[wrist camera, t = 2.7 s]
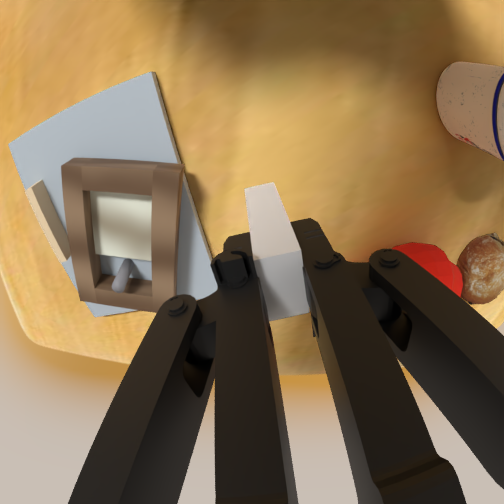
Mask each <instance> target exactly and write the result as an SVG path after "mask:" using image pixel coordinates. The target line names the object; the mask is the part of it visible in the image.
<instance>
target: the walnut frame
mask: <svg viewBox="0 0 504 504" xmlns="http://www.w3.org/2000/svg"><path fill="white" fill-rule="evenodd" d="M183 174H184V164H177V163H166V162H154V161H140V160H125V159H105V158H72V159H71V160H69V161H68V162H66V163H65V164H63V165H61V177H62V191H63V202H64V211H65V220H66V227H67V234H68V241H69V247H70V253H71V259H72V264H73V269H74V274H75V279H76V284H77V288H78V293H79V297H80V301H85V302H90V303H96V304H102V305H108V306H114V307H121V308H127V309H134V310H141V311H148V312H155V313H157V312H158V310H159V308H160V307H161V306H162V304H163V303H164V302H165V301H167V300H168V299H169V298H172V297H174V296H176V295H177V265H178V243H179V225H180V210H181V197H182V185H183ZM100 255H108V256H116V257H123V258H131V259H140V260H148V261H151V265H152V280H144V279H137V278H129V279H128V281H127V284H126V286H125V289H124V291H123V292H122V293H117V292H115V291H114V290H113V289H112V284H113V281H114V279H115V277H116V276H114V275H107V274H102V270H101V262H100Z"/></svg>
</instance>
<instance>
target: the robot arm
mask: <svg viewBox="0 0 504 504" xmlns="http://www.w3.org/2000/svg"><path fill="white" fill-rule="evenodd" d="M245 197H246V205H247V213H248V221H249V229H250V232H247V233H243V234H238V235H234V236H229V237H228V238H227V240H226V241H225V243H224V249H223V251H224V252H222V253H220V254H218V255H217V256H216V257H215V258H214V259H213V260H212V261H211V264H210V266H211V269H212V272H213V274H214V277H215V280H216V283H217V290H216V291H215V292H214V293H212V294H211V295H209V296H207V297H205V298H202V299H200V300H198V301H196V299H195V297H193V296H191V295H188V294H181V295H176V296H174V297H172V298H169V299H168V300H167V301H165V302H164V303H163V304H162V306H161V307H160V308H159V310H158V312H157V314H156V316H155V318H154V319H153V321H152V323H151V325H150V327H149V329H148V331H147V333H146V335H145V337H144V338H143V340H142V342H141V344H140V346H139V348H138V350H137V352H136V354H135V356H134V358H133V360H132V362H131V364H130V366H129V368H128V370H127V372H126V374H125V376H124V378H123V380H122V382H121V384H120V386H119V388H118V390H117V392H116V394H115V397H114V398H113V401H112V403H111V405H110V407H109V409H108V411H107V413H106V416H105V418H104V420H103V422H102V424H101V427H100V429H99V431H98V433H97V435H96V437H95V440H94V442H93V445H92V446H91V449H90V451H89V453H88V456H87V458H86V460H85V463H84V465H83V468H82V470H81V472H80V475H79V477H78V480H77V482H76V484H75V487H74V489H73V492H72V495H71V497H70V500H69V502H68V504H177V503H178V499H179V496H180V493H181V490H182V486H183V483H184V480H185V476H186V473H187V469H188V466H189V463H190V459H191V456H192V453H193V449H194V446H195V442H196V439H197V436H198V432H199V429H200V426H201V422H202V419H203V416H204V412H205V409H206V405H207V402H208V399H209V395H210V392H211V389H212V385H213V381H214V379H215V491H216V502H215V503H216V504H298V498H297V491H296V485H295V478H294V471H293V464H292V458H291V451H290V445H289V438H288V432H287V426H286V419H285V413H284V406H283V400H282V393H281V387H280V381H279V374H278V368H277V362H276V355H275V349H274V343H273V337H272V331H271V327H270V323H269V321H273V320H278V319H283V318H287V317H292V316H296V315H301V314H305V313H310V312H311V319H312V328H313V337H315V336H316V338H317V342H318V345H319V349H320V352H321V356H322V359H323V363H324V366H325V370H326V374H327V377H328V381H329V384H330V388H331V392H332V395H333V399H334V403H335V407H336V410H337V414H338V418H339V422H340V426H341V430H342V434H343V437H344V442H345V446H346V450H347V454H348V458H349V462H350V466H351V470H352V475H353V479H354V483H355V487H356V492H357V497H358V504H466V501H465V497H464V495H463V491H462V488H461V485H460V482H459V479H458V476H457V474H456V472H455V470H454V468H453V466H452V465H451V464H450V463H449V461H448V460H446V459H444V458H442V457H440V456H439V455H438V454H437V452H436V450H435V448H434V446H433V443H432V440H431V437H430V435H429V432H428V430H427V427H426V425H425V422H424V420H423V417H422V415H421V412H420V410H419V408H418V406H417V403H416V401H415V398H414V396H413V394H412V391H411V389H410V387H409V385H408V382H407V380H406V378H405V376H404V373H403V371H402V369H401V367H400V365H399V363H398V360H399V361H400V362H401V363H402V364H403V366H404V367H405V368H406V369H407V370H408V372H409V373H410V374H411V375H412V376H413V378H414V379H415V380H416V381H417V382H418V384H419V385H420V386H421V387H422V388H423V390H424V391H425V392H426V393H427V394H428V396H429V397H430V398H431V400H432V401H433V402H434V403H435V405H436V406H437V407H438V408H439V410H440V411H441V412H442V413H443V415H444V416H445V417H446V418H447V420H448V421H449V422H450V423H451V425H452V426H453V427H454V428H455V430H456V431H457V432H458V433H459V435H460V436H461V438H462V439H463V440H464V441H465V443H466V444H467V445H468V447H469V448H470V449H471V451H472V452H473V453H474V455H475V456H476V457H477V458H478V460H479V461H480V463H481V464H482V465H483V467H484V468H485V469H486V471H487V472H488V473H489V474H490V476H491V477H492V478H493V479H494V480H495V482H496V483H497V484H498V485H500V486H501V487H502V488H503V489H504V336H503V335H502V334H501V333H500V332H499V331H498V330H497V329H496V328H495V327H494V326H493V325H491V324H490V323H489V322H488V321H487V320H486V319H485V318H484V317H482V316H481V315H480V314H479V313H478V312H477V311H476V310H474V309H473V308H472V307H471V306H470V305H469V304H467V303H466V302H465V301H464V300H463V299H462V298H460V297H459V296H458V295H457V294H456V293H454V292H453V291H452V290H451V289H449V288H448V287H447V286H446V285H444V284H443V283H442V282H441V281H439V280H438V279H437V278H436V277H434V276H433V275H432V274H431V273H429V272H428V271H427V270H425V269H424V268H423V267H422V266H420V265H419V264H418V263H416V262H415V261H414V260H412V259H411V258H410V257H408V256H407V255H406V254H404V253H403V252H401V251H399V250H395V249H381V250H378V251H376V252H374V253H373V254H372V255H371V256H370V258H369V262H365V263H355V262H348V261H346V260H345V258H344V257H343V256H342V255H341V254H340V253H337V252H335V251H334V250H333V248H332V247H331V245H330V243H329V241H328V239H327V238H326V236H325V235H324V232H323V231H322V229H321V227H320V225H319V224H318V222H316V221H315V220H313V219H311V218H308V219H303V220H298V221H294V222H290V221H289V218H288V216H287V213H286V211H285V208H284V206H283V204H282V201H281V199H280V196H279V194H278V191H277V189H276V187H275V184H274V182H272V183H267V184H263V185H258V186H253V187H249V188H245ZM309 308H310V312H309ZM396 357H397V358H398V360H397V358H396Z"/></svg>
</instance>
